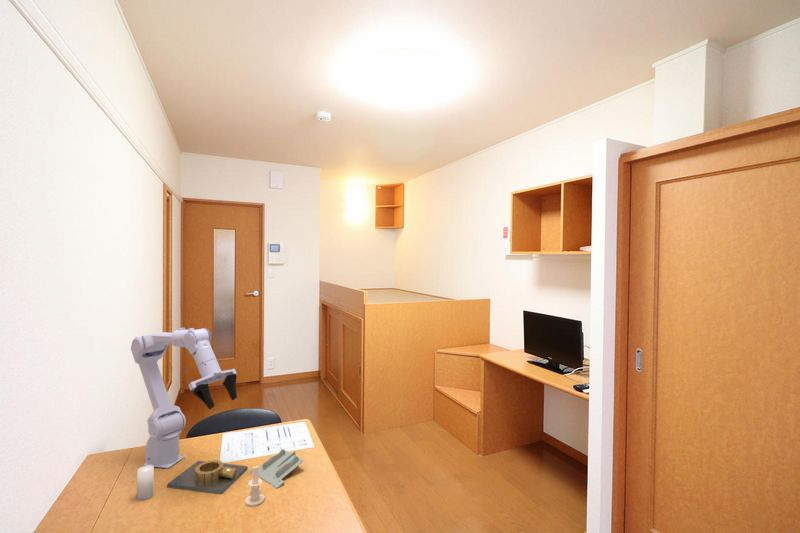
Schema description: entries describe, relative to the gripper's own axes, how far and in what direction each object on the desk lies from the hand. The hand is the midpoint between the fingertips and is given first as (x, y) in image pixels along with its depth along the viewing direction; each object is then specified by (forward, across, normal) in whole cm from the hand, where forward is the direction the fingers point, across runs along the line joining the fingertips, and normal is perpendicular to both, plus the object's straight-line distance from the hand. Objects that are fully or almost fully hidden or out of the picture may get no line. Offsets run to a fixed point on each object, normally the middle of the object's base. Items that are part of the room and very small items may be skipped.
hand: (223, 403), depth 118 cm
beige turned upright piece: (+29, -1, +2) cm, 30 cm away
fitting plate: (+17, -2, +20) cm, 26 cm away
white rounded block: (+12, -18, +24) cm, 32 cm away
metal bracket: (+27, +13, +8) cm, 31 cm away
